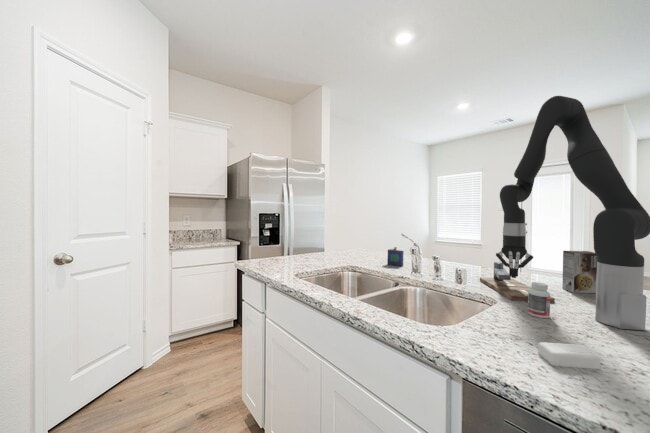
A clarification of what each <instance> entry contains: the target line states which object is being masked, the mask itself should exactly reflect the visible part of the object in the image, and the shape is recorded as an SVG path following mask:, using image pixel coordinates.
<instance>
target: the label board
mask: <svg viewBox="0 0 650 433" xmlns="http://www.w3.org/2000/svg"><path fill="white" fill-rule="evenodd" d="M479 282H481V283H482V284H484V285H486V286H487V287H490V288H491V289H492V290H494V291H495V292H497V293H499V294H500V295H502V296H504V297H505V298H507V299H509V300H510V301H514V302H515V301H517V302H528V291H529V290H530V289H532V287H531V286H528V285H527V284H526V283H525V284H524V283H522V282H520V281H519V280H516V279H515V278H514V279H513V278H511V280H497V279H494V277H479ZM555 299H556V298H554V297H552V296H550V304H551V303H555V302H556V301H555Z"/></svg>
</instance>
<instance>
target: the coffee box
mask: <svg viewBox="0 0 650 433" xmlns="http://www.w3.org/2000/svg"><path fill="white" fill-rule="evenodd" d="M562 252H563V253H562V254H563V255H562V281H561V282H562V284H561V285H562V286H561V288H563V289H562V290H565V291H567V290H568V291H567V292H570V293H572V294H596V279H597V262H598V261H597V255H596V253H595V251H594V252H593V251H589V250H563V251H562Z"/></svg>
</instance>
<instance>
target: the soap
mask: <svg viewBox="0 0 650 433" xmlns="http://www.w3.org/2000/svg"><path fill="white" fill-rule="evenodd" d="M537 347H538V352H537V353H538V355H539V356H541V357H542V358H543V359H544V360H546V361H547V362H548V363H549V364H551V365H552V366H554V367H563V368H565V367H566V368H579V369H580V368H581V369H588V370H589V369H592V370H599V369H601V357H600V356H599V355H598V354H596V353H594V352H593V351H592V350H590V349H588V348H586V347H585V346H583V345H581V344H575V343H573V344H572V343H561V342H560V343H559V342H544V341H543V342H542V341H540V342H539V343H538V346H537Z"/></svg>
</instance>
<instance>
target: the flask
mask: <svg viewBox="0 0 650 433" xmlns="http://www.w3.org/2000/svg"><path fill="white" fill-rule="evenodd" d="M386 261H387V265H388V266H394V267H395V266H396V267H404V250H402V249H401V250H400V249H398V247H397V246H394V248H390V249H387V259H386Z"/></svg>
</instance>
